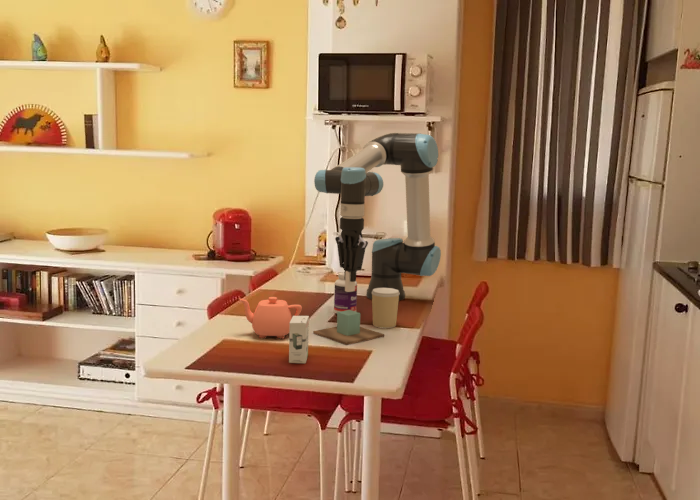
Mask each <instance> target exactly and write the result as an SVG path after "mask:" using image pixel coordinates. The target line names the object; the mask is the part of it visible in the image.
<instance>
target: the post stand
mask: <svg viewBox="0 0 700 500" xmlns="http://www.w3.org/2000/svg"><path fill="white" fill-rule="evenodd" d="M312 332H313V334H314V335H315V336H316V335H317V336H319V337H322V338H324V339H329V340H331V341H334V342H336V343H340V344H342V345H345V346H349V345H353V344H357V343H361V342H366V341H371V340H375V339H379V338H384V337H385V334H384V333H381V332H378V331H375V330H372V329H369V328H366V327H362V326H360V333H359V334H354V335H349V336H346V335H343V334H341V333H338V332H337V325H336V326H331V327H326V328H321V329H318V330H313V331H312Z"/></svg>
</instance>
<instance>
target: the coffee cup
mask: <svg viewBox="0 0 700 500" xmlns="http://www.w3.org/2000/svg"><path fill="white" fill-rule="evenodd" d="M399 294H400V293H399V291H398V290H397V289H393V288H375V289H373V291H372V299H371V304H372V305H371V306H372V307H371V308H372V309H371V310H372V325H373V326H374V327H375V328H380V329H392V328H395V327H396V326H397V317H398V310H399V309H398V308H399V301H400V300H399Z"/></svg>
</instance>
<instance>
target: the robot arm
mask: <svg viewBox="0 0 700 500" xmlns="http://www.w3.org/2000/svg"><path fill="white" fill-rule="evenodd" d="M436 141H437V140H436V139H435V138H434V137H433V136H431V135H430V134H427V133H426V134H425V133H424V134H423V133H413V132H412V133H411V132H410V133H406V132H405V133H401V132H400V133H399V132H392V133H386V134H384V135H381V136H378V137H375V138H374V139H372V140H371V141H367V143H366V144H364V145H363V147H362V149H361V150H359V151H358V152H357V153H355V154H354V155H351V156H350V157H349V158H347V159H346V160H344V161H343V162H341V163H339V164H338V165H336V166H335V167H333V168H331V169H320V170H318V171H317V172H316V173H315V175H314V181H313V182H314V183H313V184H314V188H315V190H316V191H317V192H319V193H325V194H335V195H340V205H339V207H340V209H339V210H340V211H339V212H340V213H339V215H340V216H341V217H340V219H339V229H340V230H341V232H340V235H339V236H336V237H335V238H334V239H335V242H336V247H337V254H338V260H339V268H342V269H343V270H344V272H345V275H344V276H345V277H344V279H345V291H346V292H352V291H355V281H356V282H357V272H358V271H361V270H362V267H363V263H364V258H365V254H366V248H367V247H368V245H369V242H368V241H367V240H366V241H365V240H364V239H363V233H362V232H363V230H364V228H365V219H364V216H365V200H366V197H369V196H370V197H373V196H376V195H378V194H380V193H381V192H382V191H383V188H384V179H383V177H382V176H381V175H380V174H379V173H377V172H373V171H371V170H372V169H374V168H379V167H381V166H384V165H390V166H391V165H392V166H394V165H395V166H399V167H400V172H401V174H403V175H404V178H405V179H404V181H405V201H406V202H405V203H406V228H407V237H406V238H405V239H404V240H403V238H400V237H392V238H389V237H388V238H383V239H382V238H381V239H377V240H374V242H373V243H372V249H371V277H370V280H369V283H368V288H367V289H366V291H365V292H366V293H365V294H366V295H365V296H366V298H368V299H369V300H372V291H373V289H375V288H393V289H397V290H398V291H399V293H400V294H399V301H402V300H404V299H405V298H406V293H405V290H404V284H403V282H402V281H403V280H402V274H407V275H412V276H413V275H415V276H420V277H423V276H424V277H431V276H433V275H434V274H436V272H437V269H438V267H439V265H440V261H441V257H442V256H441V255H442V252H441V248H440V247H439V246H438V245H436V241H435V239H434V238H433V237H432V236H431V213H430V212H431V209H430V178H429V177H430V176H429V175H430V174H431V173H432V172H433V169H434V167H436V166H437V163H438V162H439V161H438V158H439V149H438V144H437V142H436Z"/></svg>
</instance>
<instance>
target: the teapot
mask: <svg viewBox="0 0 700 500" xmlns="http://www.w3.org/2000/svg"><path fill="white" fill-rule="evenodd" d="M238 300H239V301H241V303H242V304H243V307H244V312H245V318H246V319H247V320H246V321H247V322H249V323H250V324H251V326H252V329H253V332H254V333H255V334H256V335H257V336H258V338H259V339H266V338H267V337H276V338H277V339H279V338H280V339H279V340H281V338H282V339H285V338H286V337H285V336H287V335H288V334H289V328H290V324H289V323H290V321H291V319H292V317H293V316H301V312H302V310H303V306H302V305H301V304H290V305H289V304H288V302H287V301H286V300H283V299H278V297H276V296H269V297H268V298H267V299H262V300H260V301H259V302H258V304H257V306H256V308H255V311H254V312H252V311H251V307H250V303H249V300H247V299H245V298H240V297H239V298H238ZM291 309H295V313H294V315H292V311H291Z"/></svg>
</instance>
